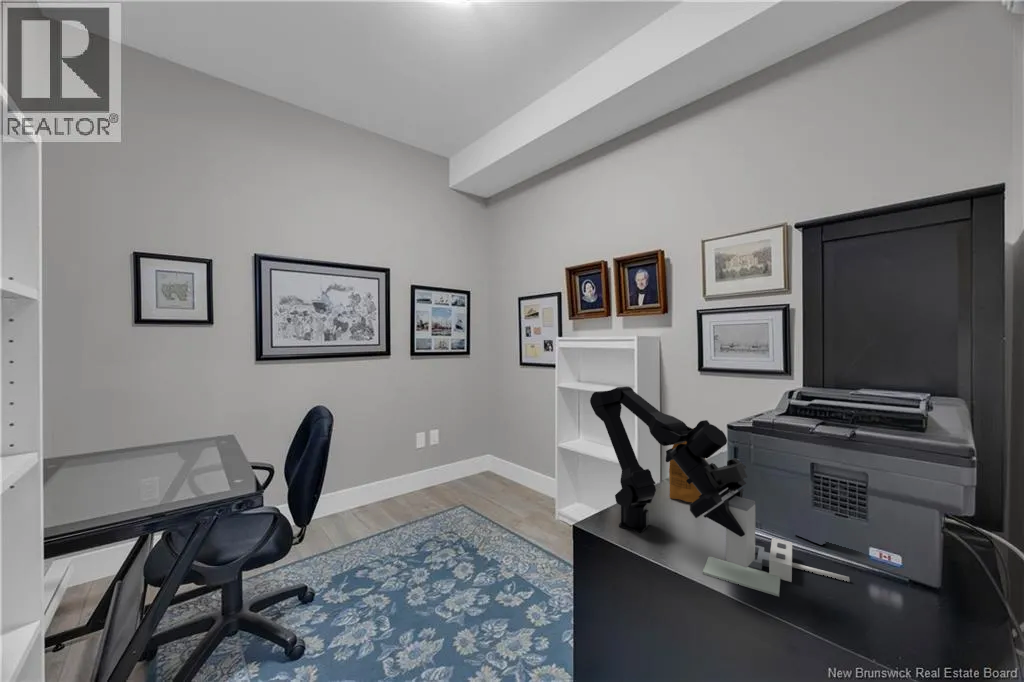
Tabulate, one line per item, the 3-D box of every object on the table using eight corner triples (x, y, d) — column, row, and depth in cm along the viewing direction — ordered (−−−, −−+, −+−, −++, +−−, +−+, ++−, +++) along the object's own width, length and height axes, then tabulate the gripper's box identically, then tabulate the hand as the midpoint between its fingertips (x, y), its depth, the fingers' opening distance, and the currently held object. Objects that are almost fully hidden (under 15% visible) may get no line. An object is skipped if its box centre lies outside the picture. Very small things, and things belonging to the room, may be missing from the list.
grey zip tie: (725, 563, 94) (725, 547, 94) (732, 542, 104) (732, 527, 104) (852, 599, 81) (852, 580, 81) (846, 570, 91) (846, 554, 91)
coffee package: (712, 496, 133) (712, 429, 133) (695, 507, 125) (695, 435, 125) (682, 488, 141) (682, 424, 141) (664, 498, 132) (664, 430, 132)
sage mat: (702, 573, 90) (702, 571, 90) (708, 558, 96) (708, 556, 96) (779, 596, 82) (779, 594, 82) (780, 578, 88) (780, 576, 88)
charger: (726, 560, 88) (726, 502, 88) (735, 551, 92) (735, 496, 92) (746, 567, 86) (746, 508, 85) (755, 558, 89) (755, 501, 89)
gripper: (704, 456, 85) (764, 527, 77) (736, 441, 98) (790, 500, 90) (668, 484, 91) (720, 553, 83) (702, 466, 104) (751, 524, 96)
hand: (747, 531), depth 88 cm, fingers closed on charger, 5 cm apart
